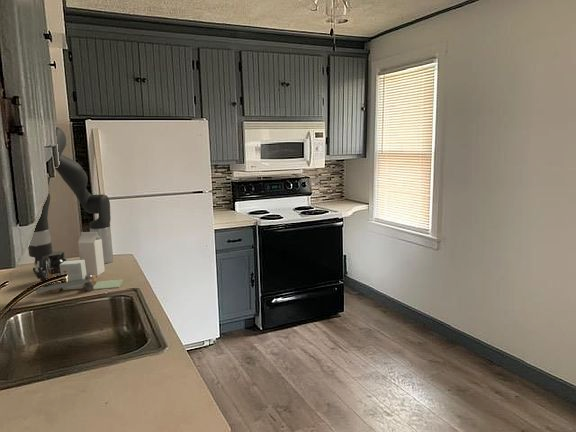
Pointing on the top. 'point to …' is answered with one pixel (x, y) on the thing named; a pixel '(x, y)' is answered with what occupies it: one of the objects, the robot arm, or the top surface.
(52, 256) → the supplement container
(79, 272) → the small box
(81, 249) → the milk carton
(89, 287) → the cradle
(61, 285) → the lever
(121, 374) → the top surface
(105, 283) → the pad
